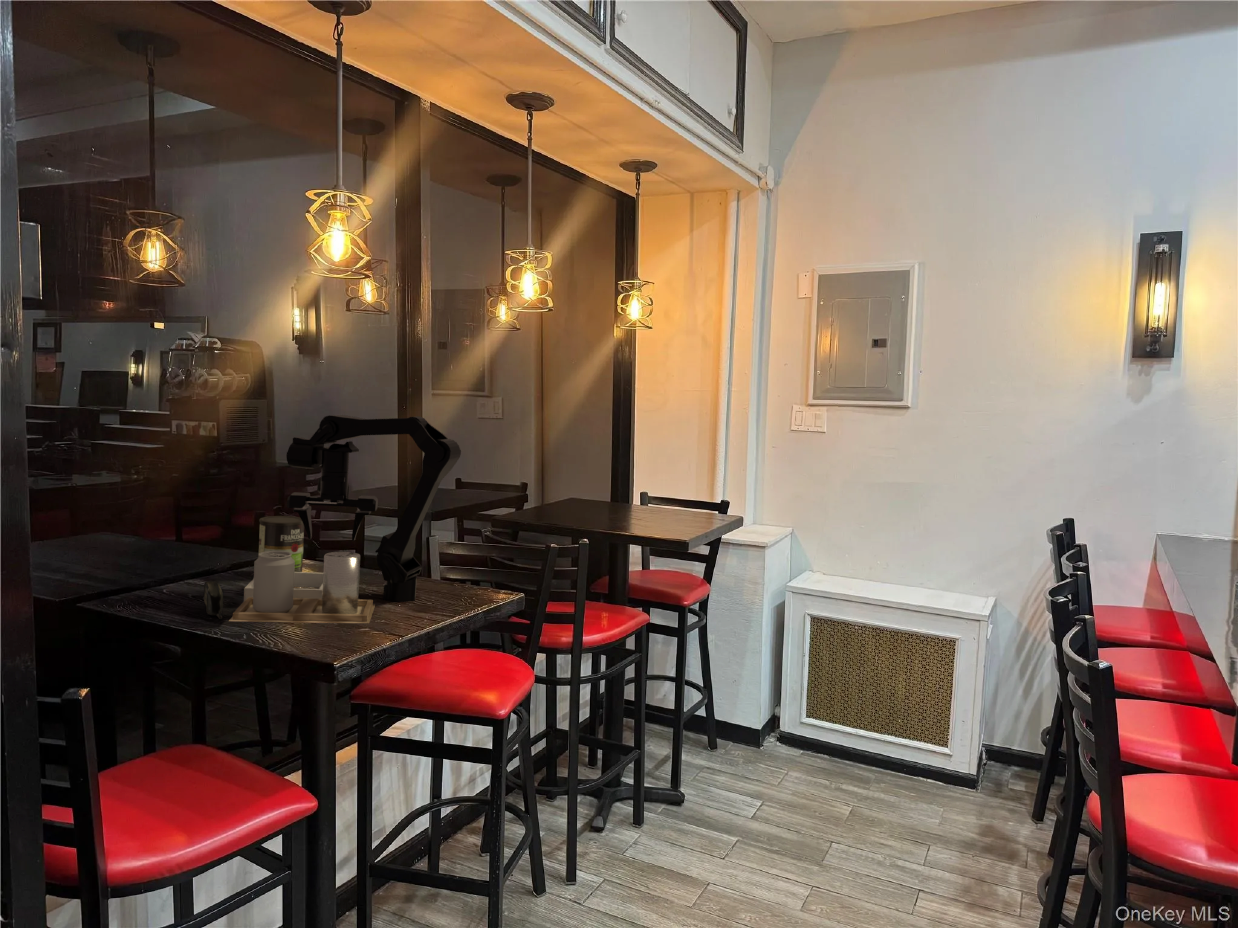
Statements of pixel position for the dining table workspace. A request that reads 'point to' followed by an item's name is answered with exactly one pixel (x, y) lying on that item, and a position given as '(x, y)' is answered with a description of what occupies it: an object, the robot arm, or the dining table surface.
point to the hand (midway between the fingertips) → (331, 539)
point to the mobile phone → (213, 598)
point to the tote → (298, 585)
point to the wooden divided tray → (304, 613)
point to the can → (273, 582)
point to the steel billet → (340, 583)
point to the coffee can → (283, 537)
